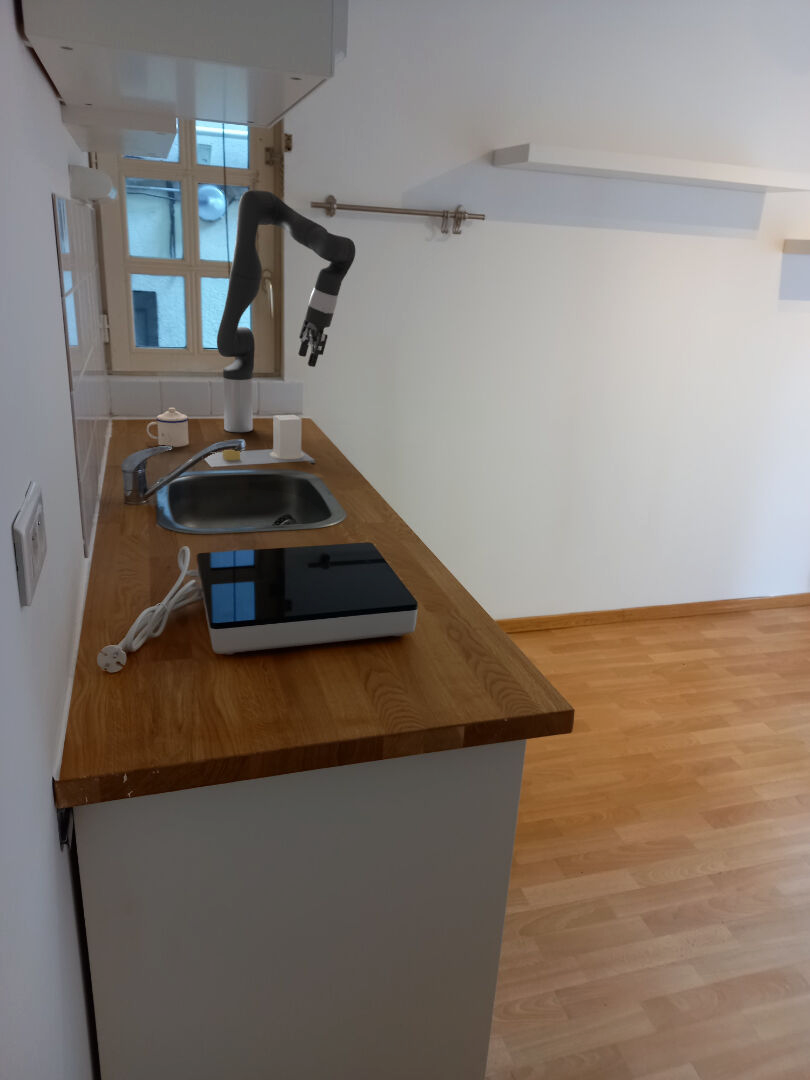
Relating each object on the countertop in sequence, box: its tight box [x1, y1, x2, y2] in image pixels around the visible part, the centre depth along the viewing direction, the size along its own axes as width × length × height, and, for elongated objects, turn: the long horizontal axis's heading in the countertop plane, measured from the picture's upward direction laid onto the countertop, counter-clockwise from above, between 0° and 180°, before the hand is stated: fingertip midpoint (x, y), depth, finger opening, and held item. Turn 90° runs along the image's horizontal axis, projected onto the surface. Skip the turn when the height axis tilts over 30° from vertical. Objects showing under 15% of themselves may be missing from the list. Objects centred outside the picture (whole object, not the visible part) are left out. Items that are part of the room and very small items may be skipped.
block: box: [222, 450, 241, 461], centre depth 221 cm, size 4×4×3 cm
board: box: [203, 448, 316, 468], centre depth 225 cm, size 15×30×1 cm, turn 116°
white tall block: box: [272, 414, 303, 458], centre depth 227 cm, size 6×6×11 cm
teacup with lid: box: [146, 407, 189, 448], centre depth 232 cm, size 12×9×12 cm
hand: (306, 360), depth 229 cm, fingers open, 8 cm apart
